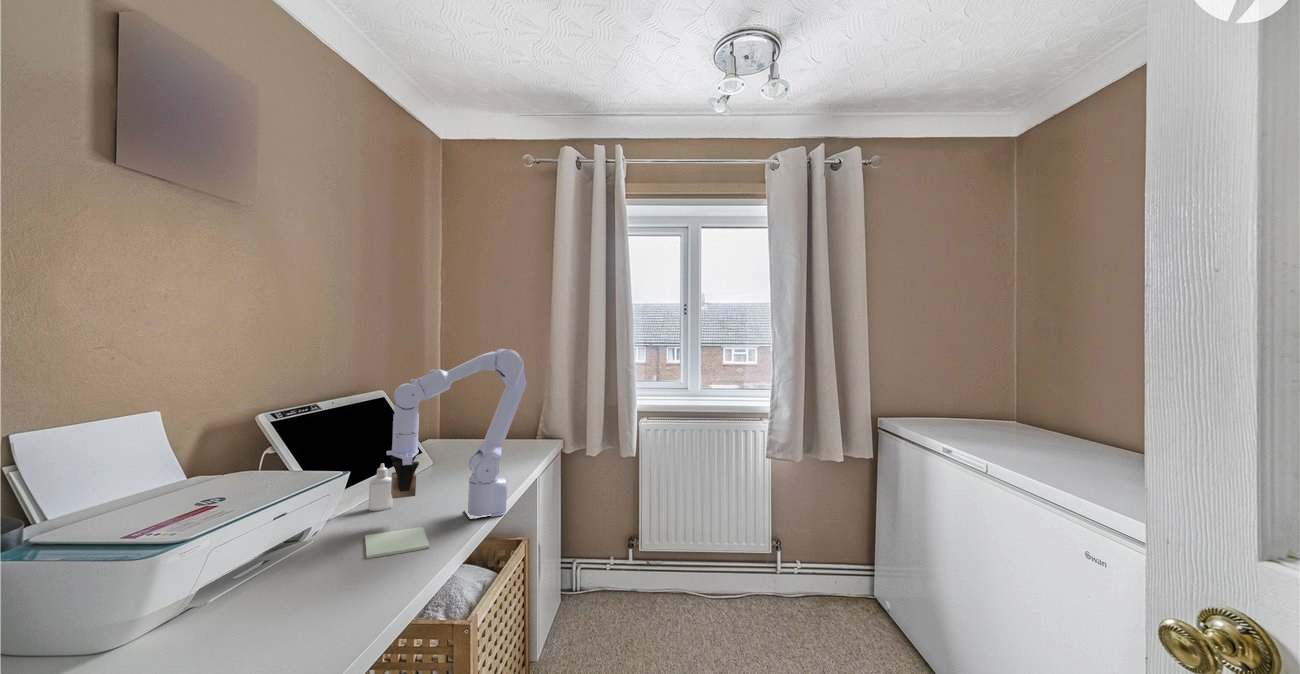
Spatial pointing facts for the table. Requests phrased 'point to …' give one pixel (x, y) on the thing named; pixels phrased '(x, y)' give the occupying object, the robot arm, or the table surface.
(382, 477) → the eye dropper bottle
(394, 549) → the sage board
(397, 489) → the walnut cube
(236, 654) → the table surface
